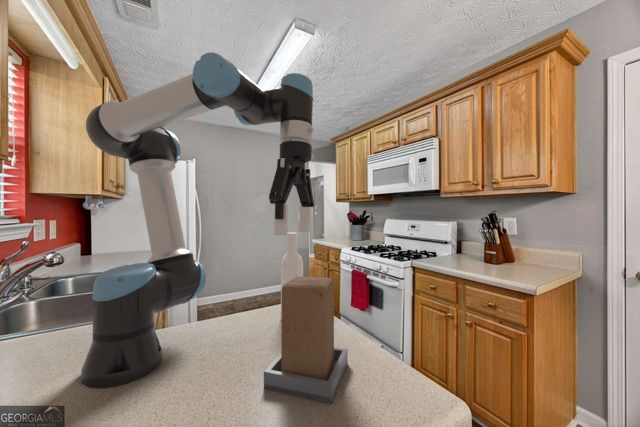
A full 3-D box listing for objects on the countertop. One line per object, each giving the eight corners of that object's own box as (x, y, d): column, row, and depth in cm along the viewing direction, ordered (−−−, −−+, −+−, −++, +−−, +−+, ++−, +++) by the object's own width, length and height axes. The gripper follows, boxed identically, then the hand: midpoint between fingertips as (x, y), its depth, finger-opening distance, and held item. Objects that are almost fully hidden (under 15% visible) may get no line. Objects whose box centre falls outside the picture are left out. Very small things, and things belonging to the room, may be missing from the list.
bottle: (281, 324, 88) (282, 233, 88) (279, 316, 95) (279, 232, 96) (305, 322, 90) (305, 233, 91) (301, 314, 98) (301, 232, 98)
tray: (263, 388, 55) (263, 371, 55) (292, 354, 69) (292, 340, 69) (331, 403, 50) (331, 385, 50) (347, 363, 64) (347, 349, 64)
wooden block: (326, 387, 54) (326, 287, 54) (279, 381, 56) (280, 285, 56) (334, 361, 63) (334, 277, 64) (294, 356, 65) (294, 275, 66)
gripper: (287, 124, 50) (285, 237, 50) (326, 154, 74) (324, 231, 73) (253, 128, 52) (250, 236, 52) (301, 156, 76) (299, 230, 76)
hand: (293, 233), depth 63 cm, fingers open, 13 cm apart
